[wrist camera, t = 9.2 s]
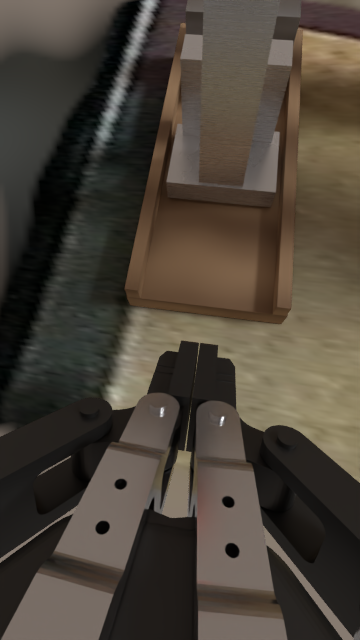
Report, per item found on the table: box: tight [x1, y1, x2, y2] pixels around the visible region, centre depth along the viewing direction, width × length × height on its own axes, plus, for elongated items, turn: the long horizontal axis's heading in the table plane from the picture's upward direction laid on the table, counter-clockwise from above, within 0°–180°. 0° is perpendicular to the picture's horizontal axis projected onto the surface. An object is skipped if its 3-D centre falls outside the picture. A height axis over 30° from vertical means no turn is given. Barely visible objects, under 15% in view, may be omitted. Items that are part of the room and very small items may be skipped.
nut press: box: [125, 0, 303, 324], centre depth 24 cm, size 24×10×6 cm, turn 172°
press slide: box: [166, 0, 293, 207], centre depth 16 cm, size 6×7×16 cm
